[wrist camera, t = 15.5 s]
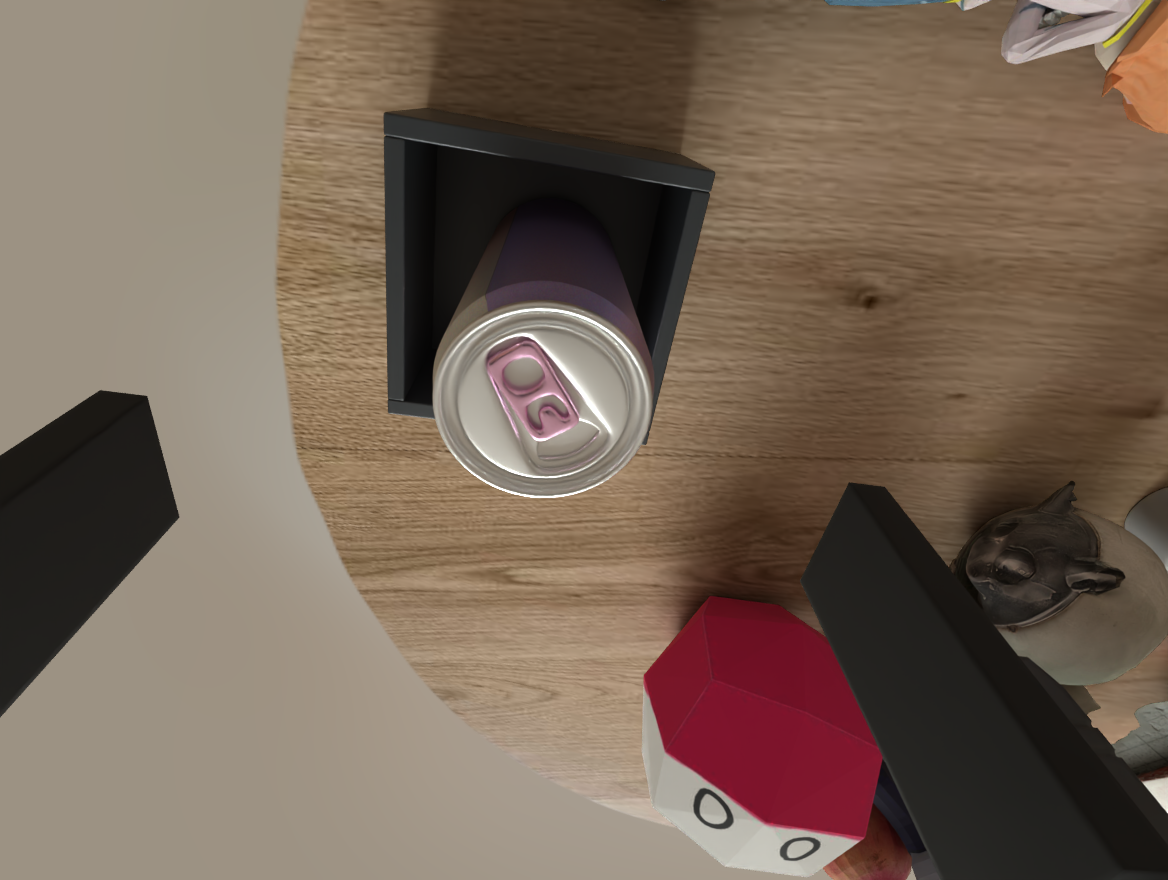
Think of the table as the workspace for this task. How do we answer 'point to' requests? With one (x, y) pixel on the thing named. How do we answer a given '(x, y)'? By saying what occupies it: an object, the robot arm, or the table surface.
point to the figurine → (1111, 22)
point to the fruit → (873, 854)
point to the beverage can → (544, 358)
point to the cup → (1151, 523)
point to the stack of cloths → (1149, 750)
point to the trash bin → (491, 191)
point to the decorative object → (757, 740)
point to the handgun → (903, 824)
